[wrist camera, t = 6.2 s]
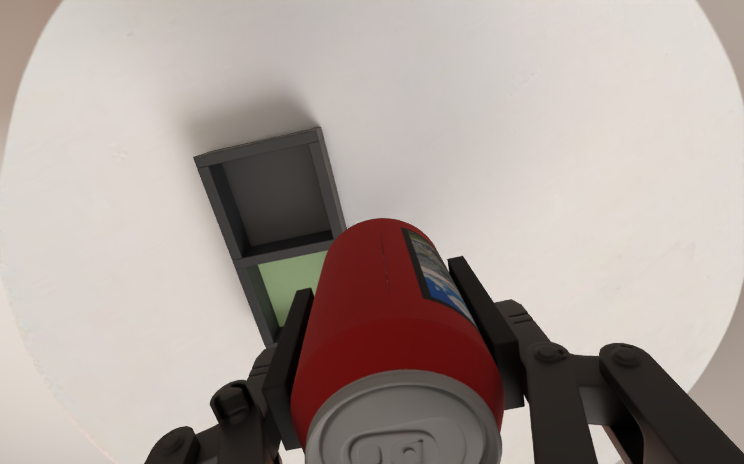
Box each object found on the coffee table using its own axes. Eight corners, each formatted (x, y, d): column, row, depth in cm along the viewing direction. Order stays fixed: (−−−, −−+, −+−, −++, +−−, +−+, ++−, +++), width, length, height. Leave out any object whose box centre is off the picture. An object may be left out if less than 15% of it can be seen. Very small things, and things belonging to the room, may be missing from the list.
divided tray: (209, 151, 34) (192, 157, 31) (321, 126, 34) (316, 129, 30) (275, 332, 41) (267, 352, 38) (368, 314, 41) (368, 333, 37)
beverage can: (439, 313, 22) (520, 533, 11) (329, 321, 22) (296, 550, 11) (438, 208, 20) (540, 347, 8) (316, 217, 20) (256, 367, 8)
